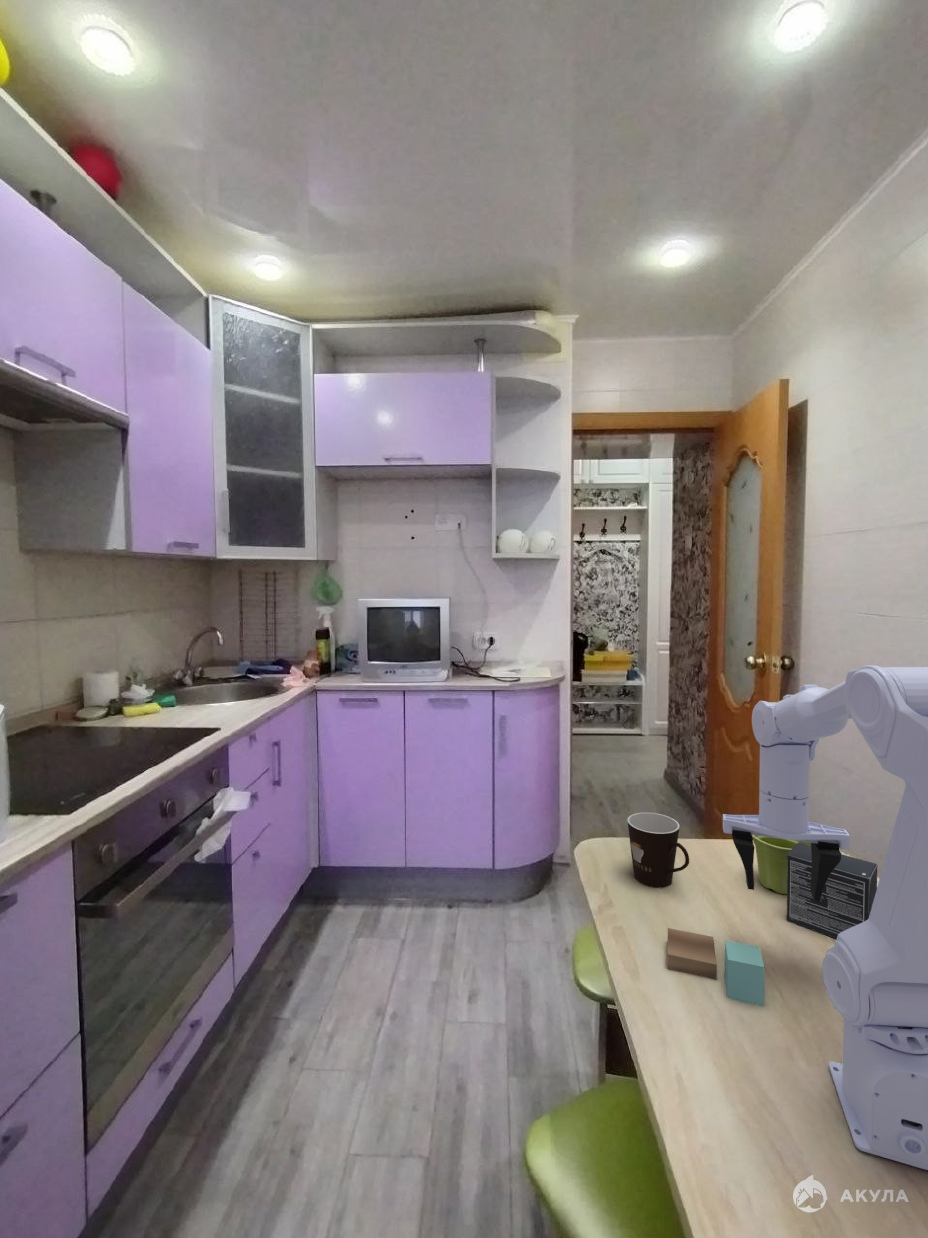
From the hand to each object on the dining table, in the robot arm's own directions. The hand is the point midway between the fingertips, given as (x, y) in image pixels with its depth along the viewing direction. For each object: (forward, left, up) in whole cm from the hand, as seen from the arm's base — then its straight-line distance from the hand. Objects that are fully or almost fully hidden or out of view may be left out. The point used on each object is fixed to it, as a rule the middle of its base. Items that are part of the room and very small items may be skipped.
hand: (782, 891), depth 73 cm
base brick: (-3, +11, -10) cm, 15 cm away
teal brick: (-7, +5, -10) cm, 14 cm away
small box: (+12, -9, -10) cm, 18 cm away
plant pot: (+22, -4, -10) cm, 24 cm away
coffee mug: (+16, +16, -10) cm, 25 cm away
